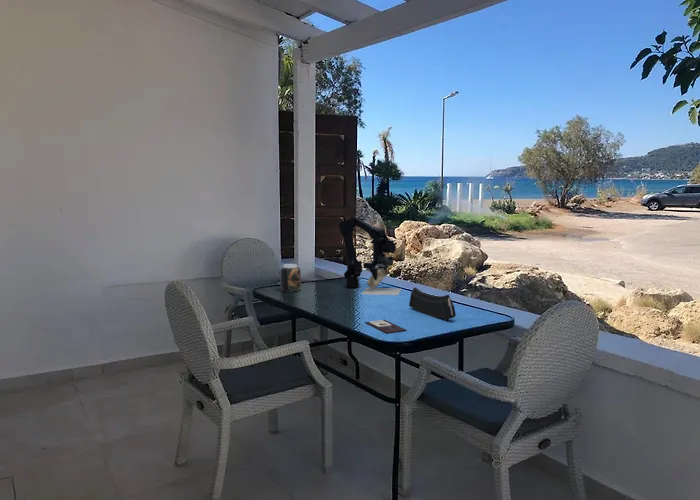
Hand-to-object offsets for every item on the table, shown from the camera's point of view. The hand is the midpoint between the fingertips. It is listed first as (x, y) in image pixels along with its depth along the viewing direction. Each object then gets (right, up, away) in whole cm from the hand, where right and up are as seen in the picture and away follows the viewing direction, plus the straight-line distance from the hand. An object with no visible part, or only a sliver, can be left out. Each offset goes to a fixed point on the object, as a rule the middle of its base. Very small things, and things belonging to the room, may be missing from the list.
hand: (378, 279), depth 274 cm
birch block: (-4, -3, +4) cm, 7 cm away
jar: (-50, -7, +6) cm, 51 cm away
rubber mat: (+2, -7, -1) cm, 7 cm away
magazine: (+20, -13, -55) cm, 60 cm away
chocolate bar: (-1, -16, -74) cm, 76 cm away
